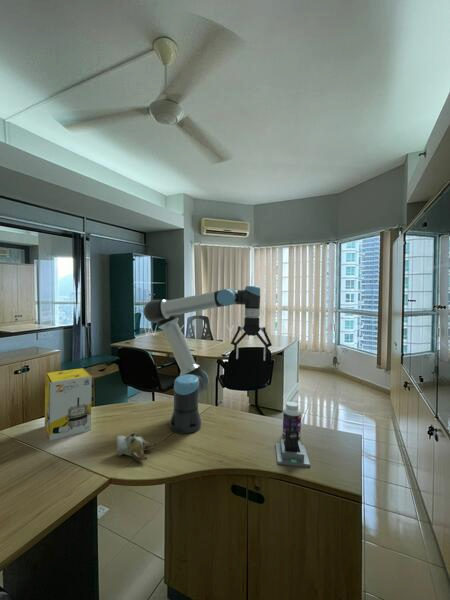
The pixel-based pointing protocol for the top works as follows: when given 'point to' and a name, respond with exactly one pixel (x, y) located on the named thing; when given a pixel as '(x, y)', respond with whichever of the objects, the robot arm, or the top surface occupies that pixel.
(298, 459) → the charging cradle
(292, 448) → the two-way radio
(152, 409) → the top surface
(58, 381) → the packaging box
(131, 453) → the ceramic sculpture
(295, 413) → the pill bottle
